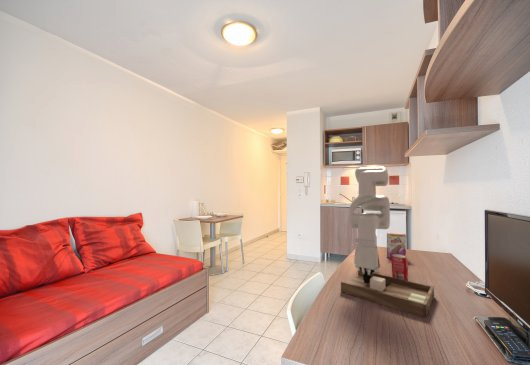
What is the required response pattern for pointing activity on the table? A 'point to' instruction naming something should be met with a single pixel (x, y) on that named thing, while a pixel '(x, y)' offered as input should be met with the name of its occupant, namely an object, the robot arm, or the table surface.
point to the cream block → (377, 283)
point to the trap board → (393, 293)
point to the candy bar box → (396, 244)
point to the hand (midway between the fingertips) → (367, 282)
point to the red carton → (399, 266)
